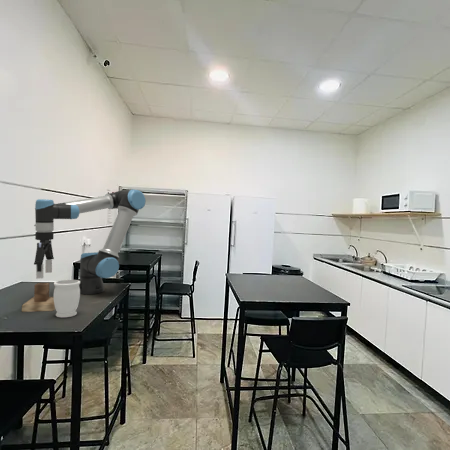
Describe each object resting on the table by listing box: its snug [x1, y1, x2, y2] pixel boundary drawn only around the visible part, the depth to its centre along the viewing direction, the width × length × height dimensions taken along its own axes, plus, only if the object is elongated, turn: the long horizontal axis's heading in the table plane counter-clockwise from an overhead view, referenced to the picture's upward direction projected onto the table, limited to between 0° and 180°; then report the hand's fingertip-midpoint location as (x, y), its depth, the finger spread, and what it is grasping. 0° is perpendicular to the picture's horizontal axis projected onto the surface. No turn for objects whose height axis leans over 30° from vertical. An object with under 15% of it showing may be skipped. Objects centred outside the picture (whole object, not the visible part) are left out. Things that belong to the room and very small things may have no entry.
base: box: [21, 296, 56, 313], centre depth 147 cm, size 13×14×3 cm
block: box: [33, 282, 50, 302], centre depth 147 cm, size 5×5×8 cm
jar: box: [53, 279, 81, 318], centre depth 137 cm, size 11×10×15 cm
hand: (44, 275), depth 147 cm, fingers open, 13 cm apart
